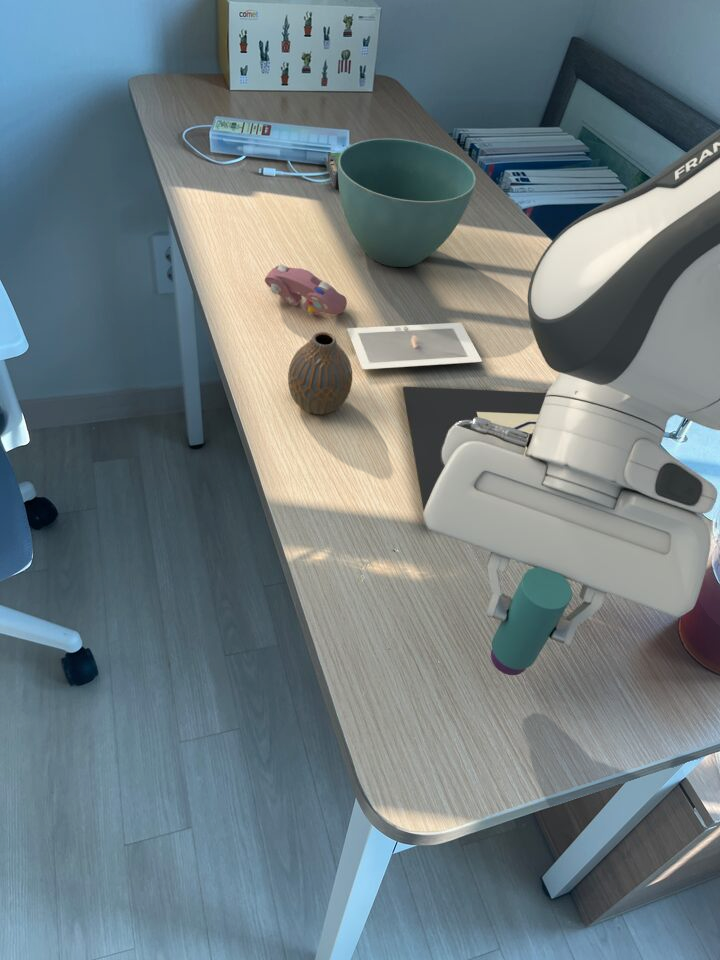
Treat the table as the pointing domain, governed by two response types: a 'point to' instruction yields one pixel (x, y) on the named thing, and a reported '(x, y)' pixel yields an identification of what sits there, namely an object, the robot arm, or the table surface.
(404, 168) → the plant pot
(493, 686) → the table surface
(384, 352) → the white framed picture
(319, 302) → the video game controller
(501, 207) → the table surface
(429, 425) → the desk mat
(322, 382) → the vase
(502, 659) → the cylinder
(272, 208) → the table surface
